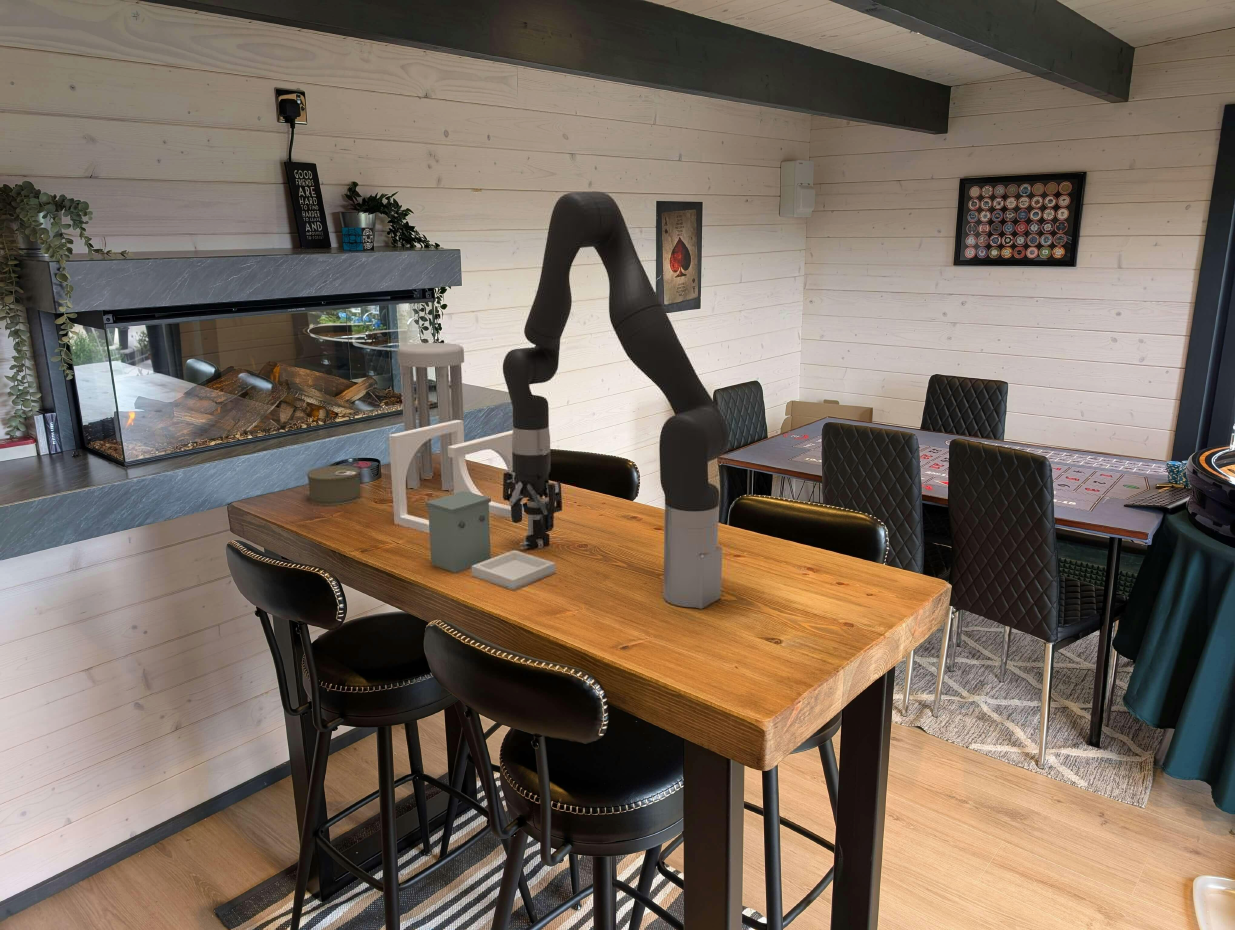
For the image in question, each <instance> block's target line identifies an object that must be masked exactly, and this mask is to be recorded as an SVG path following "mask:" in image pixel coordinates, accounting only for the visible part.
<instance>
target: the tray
mask: <svg viewBox="0 0 1235 930" xmlns="http://www.w3.org/2000/svg"><path fill="white" fill-rule="evenodd" d="M556 566H557V565H556V562H554V561H550V560H547V559H544V558H540V557H537V556H535V555H531V554H528V553H525V552H521V551H518V550H515V549H514V550H511V551H508V552H506V553H503V554H500V555H498V556H494V557H491V559H489V560H486V561H483V562H481V563H478V564H475V565H473V566H472V567H471V577H473V578H477V579H480V580H482V581H484V582H488V583H491V584H494V585H496V586H500V587H502V588H505V589H507V590H509V591H510V590H511V591H516V590H518V589H521V588H524V587H526V586H528V585H532V584H534V583H535V582H537V581H539V580H542V579H544V578H547V577H549V576H552V575H554V574H556V573H557V572H556V568H557V567H556Z"/></svg>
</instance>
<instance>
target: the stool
mask: <svg viewBox="0 0 1235 930" xmlns="http://www.w3.org/2000/svg"><path fill="white" fill-rule="evenodd" d="M396 350H397V353H396V354H397V363H398V364H399V367H400V369H399V371H400V382H401V383H400V386H401V401H402V402H401V403H402V416H403V417H402V418H403V432H405V431H409V430H414V429H417V424H418V428H423V427H427V426H431V415H430V414H431V413H430V395H429V374H428V368H435V372H436V390H437V391H436V392H437V393H436V394H437V413H438V414H437V416H438V424H441V423H445V422H450V421H454V420H461V421H463V427H464V428H465V420H464V417H465V416H464V402H463V401H464V399H463V394H464V393H463V375H462V374H463V373H462V371H463V370H462V364H463V363H465V351H464V350H465V349H464V347H463V346H462V345H460V344H456V343H448V342H444V343H443V342H426V343H425V342H424V343H423V342H422V343H421V342H419V343H412V344H404V345H402V346H398V347H397V349H396ZM414 368H415V369H414ZM414 371H415V375H414ZM414 376H415V379H414ZM415 387H416V392H415ZM415 393H416V396H415ZM415 399H416V400H415ZM416 406H417V410H416ZM416 411H417V413H416ZM417 420H418V421H417ZM417 422H418V423H417ZM465 440H466V439H465V438H464V442H466V441H465ZM449 446H452V437H451V432H450V433H446V434H442V435H439V451H440V470H441V471H440V472H441V490H449V491H448V492H452V491H454V489H453V488H454V480H453V458H452V457H449V456H448V447H449ZM419 457H420V465H419ZM433 470H434V469H433V450H432V438H430V439H428V440H427V441H425V442H424V443H423V444H422V445H421V446H420V447H419V448H418V449H417V451H416V452H415V454H414V455H413V457H412V459H411V461H410V464H409V467H408V470H407V475H406V482H407V484H406V485H407V489H408V488H418V487H419V486H420V487H421V484H420V474H421V479H422V478H431V477H432V476H433V477H434V471H433ZM420 487H419V488H420ZM419 488H418V489H419ZM451 490H452V491H451Z"/></svg>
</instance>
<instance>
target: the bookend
mask: <svg viewBox="0 0 1235 930" xmlns="http://www.w3.org/2000/svg"><path fill="white" fill-rule="evenodd" d="M450 432H451V437H452V446H449V447H448V456H449V457H452V458H453V480H454V489H453V494H455V493H459V492H462V491H466V492H470V493H474V494H478V495H481V496H484V495H483V493H481V491H479V489H478V488H477V487H476V485H475V484H474V482H473V480H472V478H471V476H470V474H469V471H468V467H467V464H466V463H467V462H466V455H470V454H474V453H478V452H482V451H486V450H491V451H493V452H495V453H496V454H497V455H499V457H500V458H501V459H502V461H503V462H504V464H505V467H506V469H507V472H509V471H513V469H512V433H513V429H511V430H509V431H505V432H500V433H497V434H492V435H490V436H485V437H480V438H477V439H472V440H469V441H465V442H464V439H465V426H464V427H463V421H461V420H454V421H452V420H451V421H450V422H445V423H441V424H439V423H437V424H432V425H430V426H427V427H423V428H419V427H418V428H416V429H414V430H409V431H405V432H404V431H402V432H398V433H397V432H396V433H392V434H388V440H389V441H388V443H389V457H390V461H389V462H390V475H391V476H390V477H391V489H392V490H391V491H392V504H393V507H392V508H393V519H394V524H395V525H398V524H399V525H398V526H401V525H402V527H406V528H408V527H410V528H409V529H412V528H413V529H412V530H415V529H416V530H415V531H420V532H422V531H423V533H426V534H430V532H429V519H425V518H422V517H418V516H415V515H414V516H413V515H411V514H408V506H407V505H408V504H407V503H408V502H407V490H406V485H407V484H406V482H407V470H408V467H409V464H410V461H411V459H412V457H413V455H414V454H415V452H416V451H417V449H418V448H419V447H420V446H421V445H422V444H423V443H424V442H425V441H427V440H428V439H430V438H431V439H432V438H435V437H437V436H440V435H442V434H446V433H450ZM516 487H517V485H516ZM523 503H524V499H523V500H522V502H521V503H520V504H522V519H523V518H524V515H525V512H524V508H523ZM489 514H492V515H497V516H501V517H504V518H508V519H512V518H511V505H506V504H502V503H499V502H495V501H493V500H491V502H490V503H489Z"/></svg>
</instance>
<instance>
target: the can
mask: <svg viewBox="0 0 1235 930" xmlns="http://www.w3.org/2000/svg"><path fill="white" fill-rule="evenodd" d="M360 473H361V470H360V468H359V467H356V466H352V465H328V466H327V465H326V466H322V467H317V468H313V469H311V470H309V471H308V472H306V476H307V479H308V488H309V498H310V500H309V501H310V504H312V503H313V505H314V504H316V505H315V506H318V505H324V506H323V507H338V506H337V505H340V506H344V505H343V504H346V505H350V504H353V503H352V502H354V501H356V502H358V501H359V500H361V499H362V495H361V481H360V480H361V479H360ZM358 499H359V500H358ZM357 500H358V501H357ZM349 503H350V504H349ZM354 503H355V502H354Z"/></svg>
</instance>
